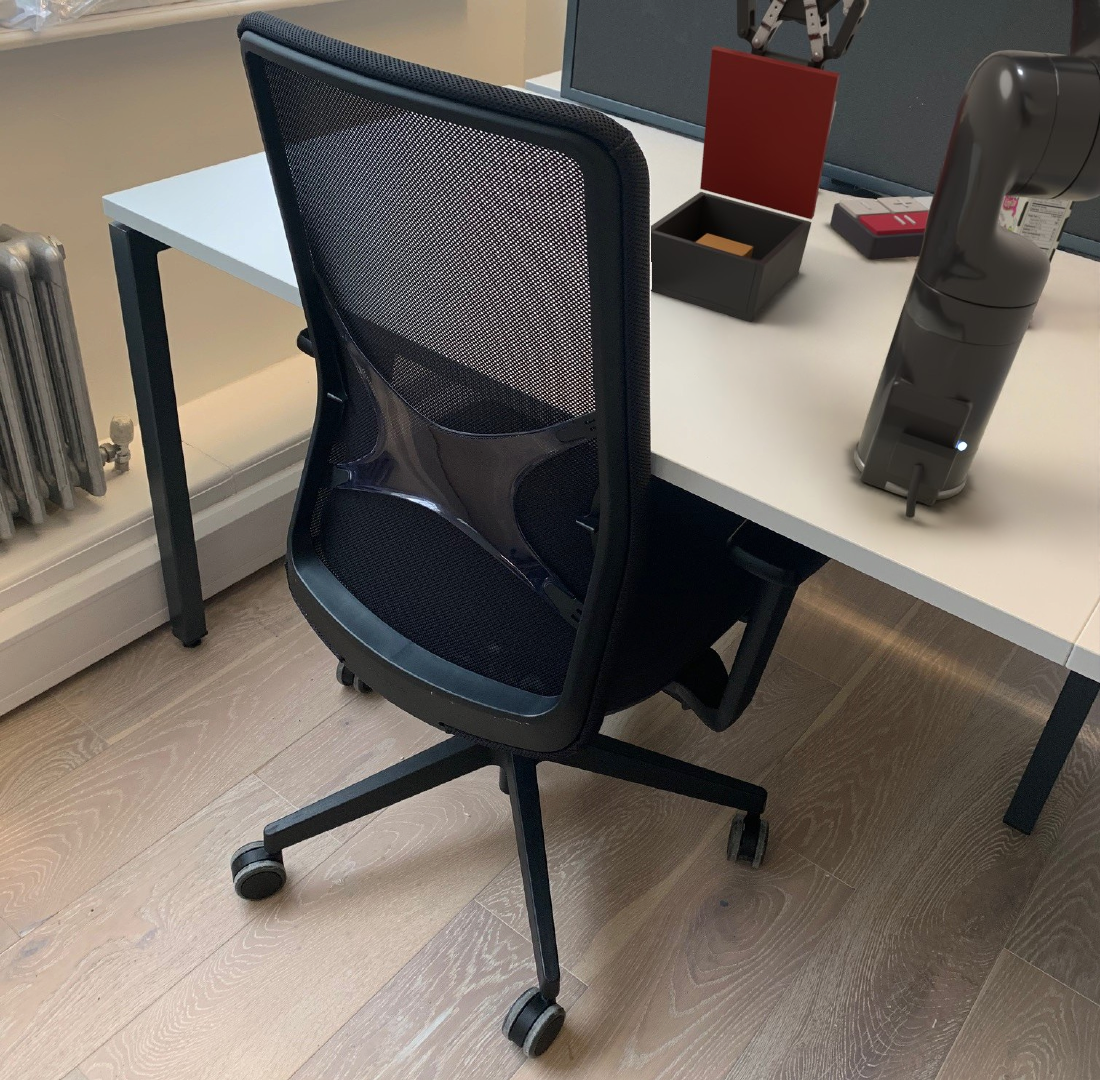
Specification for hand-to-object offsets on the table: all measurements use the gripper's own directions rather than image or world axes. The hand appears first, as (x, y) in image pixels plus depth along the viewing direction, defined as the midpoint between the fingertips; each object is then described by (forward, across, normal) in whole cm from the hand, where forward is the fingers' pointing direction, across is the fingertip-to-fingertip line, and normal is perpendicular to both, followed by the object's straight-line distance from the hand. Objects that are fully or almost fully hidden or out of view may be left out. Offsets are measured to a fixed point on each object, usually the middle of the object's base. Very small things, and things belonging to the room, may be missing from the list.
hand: (781, 90), depth 112 cm
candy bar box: (+19, +28, +8) cm, 35 cm away
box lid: (+4, 0, -3) cm, 5 cm away
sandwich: (+18, 0, -10) cm, 21 cm away
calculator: (+19, +14, +19) cm, 30 cm away
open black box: (+19, 0, -8) cm, 21 cm away
